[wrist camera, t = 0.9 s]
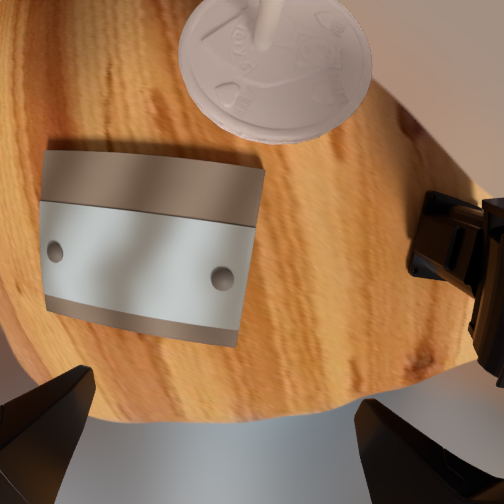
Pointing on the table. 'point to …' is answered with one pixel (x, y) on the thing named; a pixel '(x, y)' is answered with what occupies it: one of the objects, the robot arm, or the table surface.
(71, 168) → the gray and brown board
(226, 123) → the smoothie
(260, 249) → the table surface
